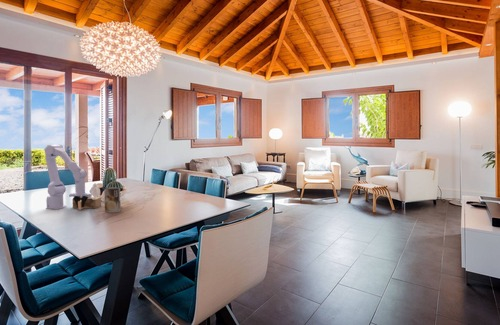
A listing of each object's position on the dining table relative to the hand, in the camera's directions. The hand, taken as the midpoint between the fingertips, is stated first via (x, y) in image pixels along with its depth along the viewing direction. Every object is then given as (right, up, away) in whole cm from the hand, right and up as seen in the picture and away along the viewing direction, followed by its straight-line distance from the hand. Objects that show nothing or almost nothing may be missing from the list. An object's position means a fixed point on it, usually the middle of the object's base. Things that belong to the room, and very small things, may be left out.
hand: (80, 207), depth 198 cm
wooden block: (0, -1, +8) cm, 8 cm away
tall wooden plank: (0, -1, +4) cm, 4 cm away
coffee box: (+24, -3, -4) cm, 24 cm away
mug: (+20, -2, +7) cm, 21 cm away
